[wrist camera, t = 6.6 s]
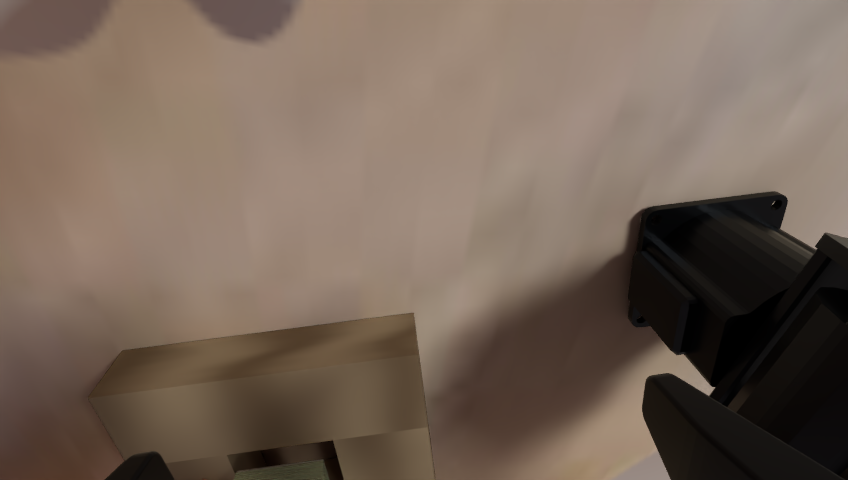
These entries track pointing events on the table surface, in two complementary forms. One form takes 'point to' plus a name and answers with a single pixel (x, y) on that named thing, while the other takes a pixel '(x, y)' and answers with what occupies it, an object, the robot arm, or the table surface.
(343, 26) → the table surface
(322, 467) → the column
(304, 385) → the stand block
